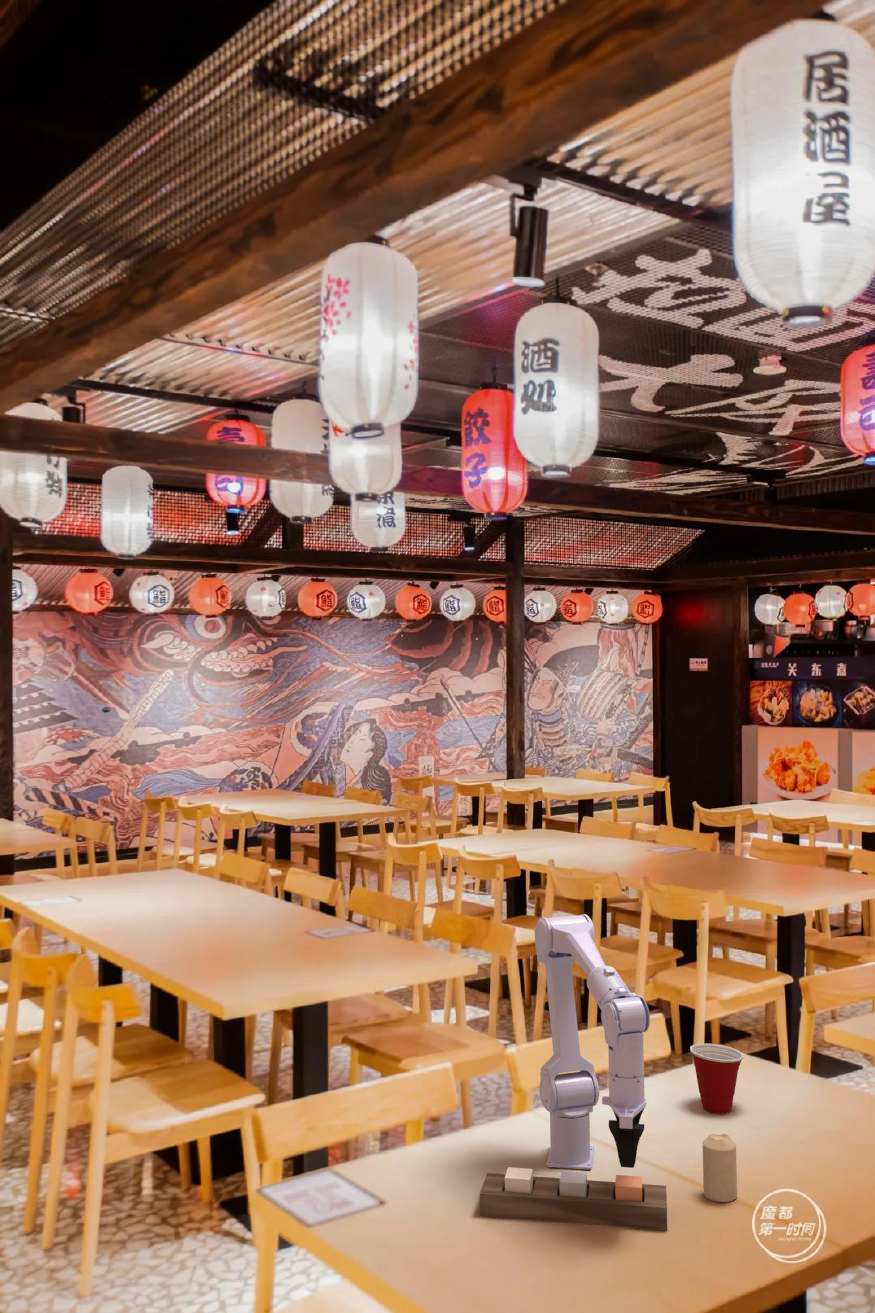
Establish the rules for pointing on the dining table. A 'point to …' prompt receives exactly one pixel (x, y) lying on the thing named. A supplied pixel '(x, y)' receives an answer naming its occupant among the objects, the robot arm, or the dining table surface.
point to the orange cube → (628, 1188)
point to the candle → (719, 1168)
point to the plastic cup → (716, 1075)
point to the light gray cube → (573, 1184)
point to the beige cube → (519, 1180)
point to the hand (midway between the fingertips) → (627, 1157)
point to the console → (575, 1204)
